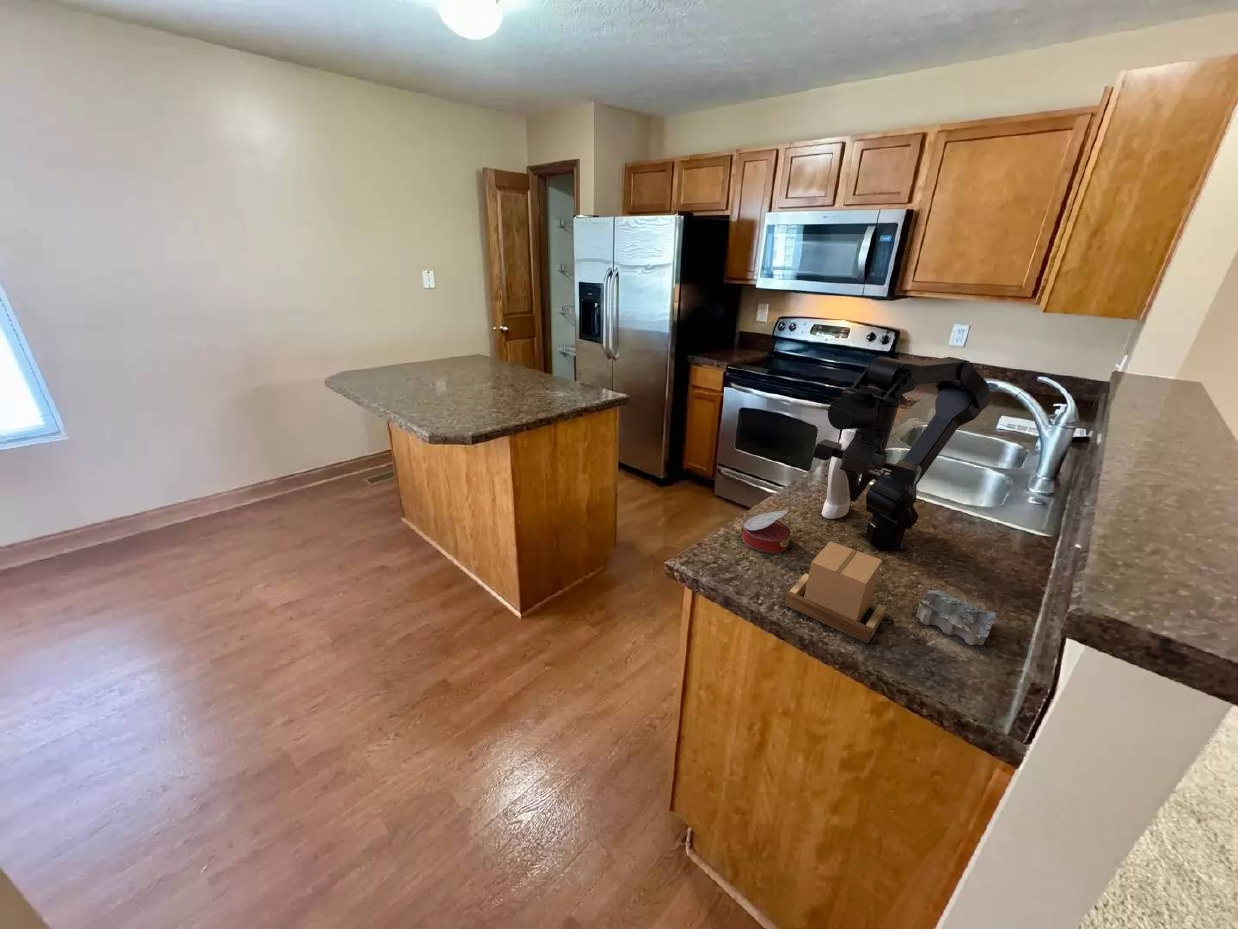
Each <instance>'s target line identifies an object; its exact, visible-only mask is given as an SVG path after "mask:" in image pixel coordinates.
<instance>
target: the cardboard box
mask: <svg viewBox="0 0 1238 929" xmlns="http://www.w3.org/2000/svg"><path fill="white" fill-rule="evenodd" d="M882 564H883V559H881V558H878V557H875V556H873V555H870V554H867V553H864V552H862V551H859V550H858V549H854V548H850V547H847V546H845V545H842V544H840V543H837V542H834V541H829V542H828V543H827V544H826V545H825V546H824V548H823V549H822V550H821V551H820V552H819V553H818V554H817V555H816V556H815V557H814V558H813V560H812V561H811V562H810V566H809V572H808V574H809V576H808V581H807V586H806V591H805V592H804V596H803V597H804V598H806V599H808V600H811V601H813V602H815V603H817V604H820V605H822V606H824V607H826V608H828V609H831V610H833V611H835V612H837V613H840V614H842V615H844V616H846V617H849V618H851V619H853V620H855V621H858V622H860V623H861V621H862V619H864V617H865V615H866V613H867V612H868V610H869V608H870V607H871V604H872V599H873V596H874V593H875V589H876V585H877V583H878V582H877V581H878V578H879V574H880V572H881V567H882Z"/></svg>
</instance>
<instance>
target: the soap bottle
mask: <svg viewBox="0 0 1238 929" xmlns="http://www.w3.org/2000/svg"><path fill="white" fill-rule="evenodd" d="M856 431H857V429H845V430H841V434H840V439H839V441H838V443H841V444H842V448H841V449H843V450H845V449H846V448H847V447H848V445H849V444H850V442H851V441H852V439H853V438H854V435H855V432H856ZM841 464H842V459H839V458H836V457H833V456H832V458H830V462H829V467H828V474H827V491H826V499H825V501H824V504H823V507H822V510H821V515H822V517H823V518H825V519H828V520H835V519H839V518H842V517H845V516H846V515H847V514H848V513H849V510H850V506H851V505H850V504H851V501H850V494H849V484H848V479H847V475H846V473H845V472H844V470H841V469H840V467H839V466H840V465H841Z"/></svg>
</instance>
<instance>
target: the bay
mask: <svg viewBox="0 0 1238 929" xmlns="http://www.w3.org/2000/svg"><path fill="white" fill-rule="evenodd" d="M808 576H809V573H804V574H803V575H802V577H800V579H799V580H798V581H797V582H796V583H795V584H794V585H793V586H792V587H791V589H790V590H788V592H787V593H786V596H785V599H784V600H785V601H784V606H786V607H787V608H789V609H792V610H794V611H796V612H798V613H801V614H803V615H805V616H807V617H809V618H811V619H813V620H815V621H818V622H820V623H822V624H824V625H826V626H828V627H830V628H833V629H834V630H837V631H839V632H842V633H844V634H846V635H848V636H850V637H852V638H854V639H857V640H859V641H861V642H863V643H865V644H867V645H868V644H869V643H870V641H871V640H872V637H873V636H874V635H875V632H876V631H877V629H878V627H879V625H880V624H881V622H882V621H883V618H884V615H885V613H886V608H887V606H886V605H883V604H881V603H878V605H877V606H876V608H875V610H874V611H873V612H872V614H871V616H870V617H869V619H868V621H867V622H866V624H864V623H862V622H861V621H860V622H858V621H855V620H853V619H851V618H849V617H846V616H844V615H842V614H840V613H837V612H835V611H833V610H831V609H828V608H826V607H824V606H822V605H820V604H817V603H815V602H813V601H811V600H808V599H806V598H804V596H803V594H805V591H806V586H807V581H808Z"/></svg>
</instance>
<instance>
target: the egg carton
mask: <svg viewBox="0 0 1238 929" xmlns="http://www.w3.org/2000/svg"><path fill="white" fill-rule="evenodd" d="M918 604H919V605H918V609H917V612H916V614H915V617H916V618H917V619H919V620H920V622H921V624H923V625H925V626H930V625H932V626H936V627H939V629H941V630H942V633H943V634H946V635H949V636H952V635H956V636H959V637H961V638H962V639H963V640H964V641H965V643H966V644H968V645H970V646H975V645H979V646H983V645H984V644H985V641H986V639H987V638H988V636H989V635H990V630H992V626H993V624H994V622H995V620H996V615H997V612H994V611H990V610H986V609H981V608H979V607H978V606H973V605H972V604H971V602H968V601H967V602H966V601H964V600H962V599H959V598H956V597H953V596H951V595H950V594H948V593H947V592H945V591H943V590H941V589H940V590H939V589H933V590H927V591H926V592H925V594H924V595H923V597H922V598H921V599H920V601H919V602H918Z"/></svg>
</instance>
